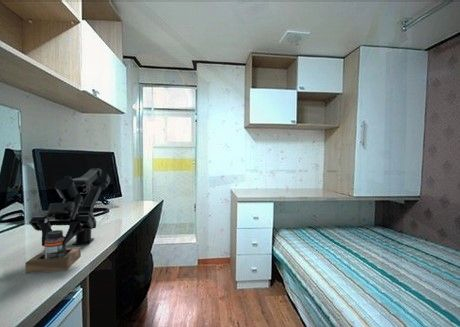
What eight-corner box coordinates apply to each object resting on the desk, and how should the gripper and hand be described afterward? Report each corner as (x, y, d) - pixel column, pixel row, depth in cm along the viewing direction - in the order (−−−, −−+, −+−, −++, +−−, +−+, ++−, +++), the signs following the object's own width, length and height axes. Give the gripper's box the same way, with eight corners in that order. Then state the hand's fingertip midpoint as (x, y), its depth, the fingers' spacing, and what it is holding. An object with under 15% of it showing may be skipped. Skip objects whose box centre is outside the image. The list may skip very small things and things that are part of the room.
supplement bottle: (52, 260, 82) (52, 229, 82) (69, 260, 83) (70, 229, 82) (39, 268, 76) (40, 234, 76) (58, 268, 77) (59, 234, 77)
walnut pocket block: (45, 258, 84) (45, 249, 84) (80, 256, 86) (80, 247, 86) (25, 273, 72) (25, 262, 72) (66, 270, 75) (66, 259, 75)
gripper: (32, 193, 81) (8, 234, 71) (90, 193, 85) (76, 232, 74) (46, 211, 89) (26, 250, 78) (98, 210, 93) (86, 247, 82)
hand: (53, 245), depth 78 cm, fingers closed on supplement bottle, 6 cm apart
